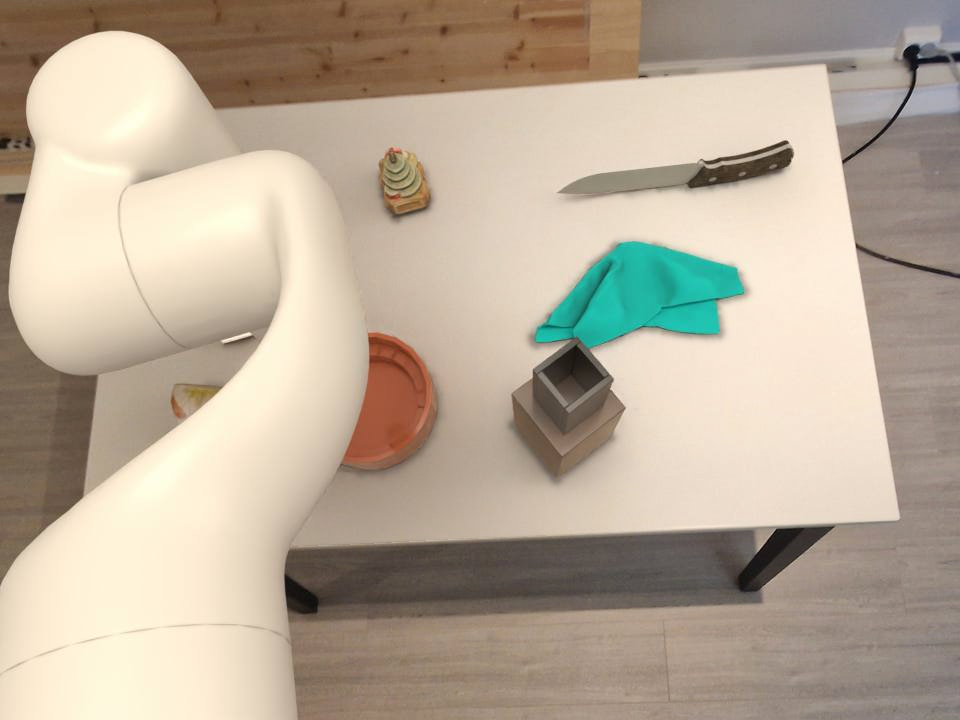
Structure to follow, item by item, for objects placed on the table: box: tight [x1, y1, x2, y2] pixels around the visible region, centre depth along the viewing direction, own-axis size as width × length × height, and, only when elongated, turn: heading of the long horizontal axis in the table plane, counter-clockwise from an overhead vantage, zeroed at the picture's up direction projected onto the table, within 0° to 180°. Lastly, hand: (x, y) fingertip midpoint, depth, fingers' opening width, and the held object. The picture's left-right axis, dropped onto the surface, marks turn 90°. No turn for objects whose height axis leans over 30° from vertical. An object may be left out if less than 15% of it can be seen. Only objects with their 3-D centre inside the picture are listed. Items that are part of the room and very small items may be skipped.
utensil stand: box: [510, 337, 627, 479], centre depth 72 cm, size 8×8×23 cm
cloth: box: [534, 240, 745, 349], centre depth 86 cm, size 26×14×2 cm, turn 95°
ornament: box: [378, 146, 431, 216], centre depth 89 cm, size 8×6×10 cm
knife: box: [556, 139, 795, 196], centre depth 89 cm, size 6×2×30 cm
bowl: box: [341, 331, 438, 471], centre depth 82 cm, size 15×15×6 cm
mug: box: [170, 383, 224, 427], centre depth 83 cm, size 8×10×10 cm
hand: (306, 327), depth 60 cm, fingers closed
